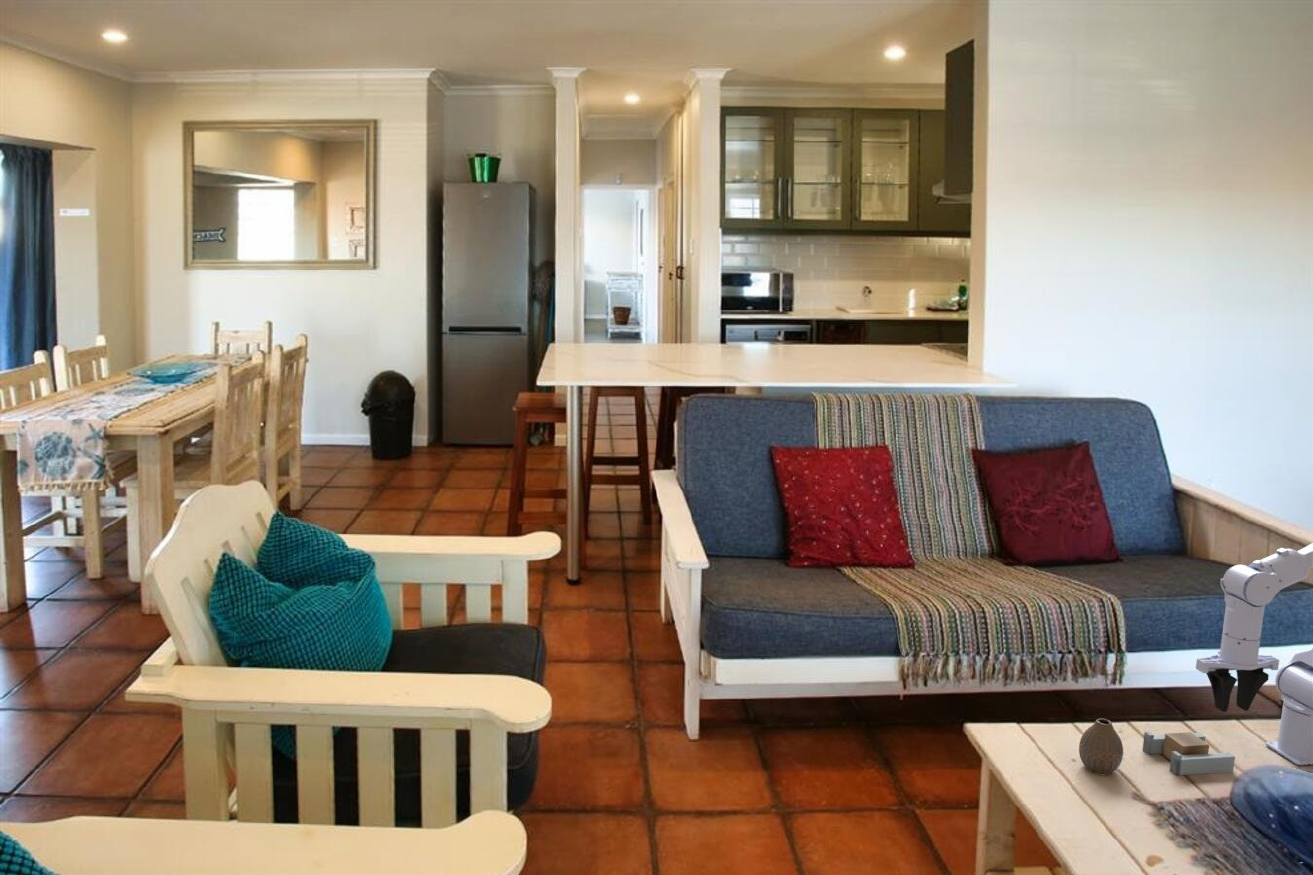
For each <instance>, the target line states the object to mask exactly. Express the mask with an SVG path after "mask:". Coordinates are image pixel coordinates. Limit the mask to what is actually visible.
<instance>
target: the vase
mask: <svg viewBox="0 0 1313 875" xmlns="http://www.w3.org/2000/svg"><path fill="white" fill-rule="evenodd" d="M1078 752H1079V758H1080V760H1081V763H1082V764H1083V765H1084V767H1086V769H1087V770H1088V771H1090V772H1091V773H1094V774H1096V773H1097V775H1100V776H1101V775H1102V776H1105V775H1106V776H1107V775H1110V774H1112V773H1114V772H1116V771H1117V770H1118V769H1119V767H1120V766H1121V764H1122V762H1123V758H1124V746H1123V742H1122V739H1121V737H1120V736H1119V734H1118V732H1117V731H1116V729H1115V728H1114V726H1113V724H1112V722H1111V721H1110V720H1109V719H1107V718H1097V719H1095V721H1094V723H1093V724H1092V725H1091V726H1089V727H1088V728H1087V729H1086V730H1084V732H1083V733H1082V735H1081V737H1080V740H1079V746H1078Z"/></svg>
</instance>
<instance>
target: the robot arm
mask: <svg viewBox="0 0 1313 875" xmlns="http://www.w3.org/2000/svg"><path fill="white" fill-rule="evenodd" d="M1311 569H1313V542H1312V543H1311V544H1308V545H1306V546H1304V547H1303V548H1301V549H1299V550H1295V549H1292V548H1284V547H1280V548H1278V549H1276V551H1275V553H1273V554H1271V555H1268V556H1266V557H1264V558H1262V559H1261V558H1260V559H1259V560H1258V559H1256V560H1254V561H1252V563H1250V564H1248V565H1245V564H1236V565H1233V566H1231V567H1229V569H1227V570H1226V571H1225V573H1224V574H1223V577H1222V578H1221V579H1220V582H1219V583H1220V588H1221V589H1222V592H1223V593H1224V600H1223V601H1224V602H1225V611H1224V617H1223V626H1222V627H1223V628H1222V633H1221V634H1222V635H1221V642H1220V648H1219V649H1220V650H1218V651H1217V654H1214V655H1210V656H1206V657H1200V658H1196V665H1195V669H1196V670H1197V671H1198V672H1200V673H1202V674H1206V676H1207V678H1208V681H1209V682H1210V683H1209V684H1210V685H1211V686H1210V687H1211V689H1212V694H1213V700H1214V707H1215V708H1216V709H1218V710H1219V711H1221V712H1223V713H1225V712H1228V709H1229V705H1230V699H1231V696H1232V695H1231V694H1232V691H1233V689H1234V687H1235V684H1236V683H1237V690H1236V691H1237V692H1236V706H1237V707H1238V708H1239V709H1242V710H1243V711H1246V712H1247V711H1249V710H1250V708H1251V705H1252V703H1253V701H1254V699H1255V697H1256V695H1257V693H1258V692H1259V691H1260V689H1261V688H1262V687H1263V686H1264V685H1265V684H1266V682H1268V681H1269V675H1270V674H1268V673H1267V672H1265V671H1264V670H1268V669H1270V670H1271V671H1278V670H1279V671H1278V672H1277V674H1276V676H1275V687H1276V689H1277V691H1278V692H1279V693H1280V694H1281V695H1280V700H1282V701H1283V703H1282V709H1281V716H1280V724H1279V731H1278V739H1277V740H1276V741H1266V742H1265V743H1264V744H1265V746H1266V747H1268V748H1270V749H1271V750H1273V751H1275V752H1276V753H1278V754H1279V755H1281V756H1283V757H1284V758H1286V759H1287V760H1289V761H1290V762H1292V763H1294V765H1298V766H1304V765H1305V766H1307V765H1308V764H1310V765H1313V648H1312V649H1310V650H1307V651H1302V652H1298V653H1295V654H1294V655H1293V657H1292V658H1291V659H1290V660H1289V662H1287V663H1286V664H1284V665H1283V666H1282V667H1281V668H1280V669H1279V666H1280V658H1277V657H1275V656H1273V655H1263V654H1262V655H1261V654H1259V653H1260V652H1259V651H1260V645H1261V636H1262V629H1263V621H1264V615H1265V607H1266V605H1268V604H1269V603H1271V602H1272V601H1273V599H1274V597H1275V596H1276V595H1277V594H1278V593H1280V591H1281V590H1283V589H1285V588H1287V587H1290V586H1292V585H1294V584H1296V583H1298V582H1299V583H1300V582H1301V581H1303V580H1305V579H1306V578H1308V577H1309V575H1310V574H1309V573H1310V570H1311ZM1230 671H1236V677H1235V676H1232V673H1231V672H1230Z"/></svg>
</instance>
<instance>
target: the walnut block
mask: <svg viewBox="0 0 1313 875" xmlns="http://www.w3.org/2000/svg"><path fill="white" fill-rule="evenodd" d="M1193 733H1194V732H1172V733H1171V732H1169V733H1168V732H1167V733H1165V734H1164V735H1165V740H1164V748H1163V753H1162V756H1164V758H1166V759H1168V760H1169V761H1171V756H1172V751H1177V752H1178V753H1179V754H1181V755H1194V754H1209V750H1210V744H1208V743H1207V742H1206V741H1205V742H1204V741H1203V740H1201V739H1200V738H1198V737H1197V736H1195V735H1194V734H1193Z"/></svg>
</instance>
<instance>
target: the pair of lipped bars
mask: <svg viewBox="0 0 1313 875" xmlns="http://www.w3.org/2000/svg"><path fill="white" fill-rule="evenodd" d="M1192 733H1193V734H1194V735H1195V736H1197V737H1198V738H1200V739H1201V740H1203V741H1204V742H1206V736H1205V735H1204V734H1202V733H1201V732H1192ZM1164 740H1165V734H1153V733H1152V732H1150V731H1149V730H1148V731H1144V734H1143V743H1142V752H1144V753H1145V754H1147V755H1158V754H1162V755H1163V748H1164ZM1235 760H1236V757H1235V755H1233V753H1230V752H1215V753H1213V752H1212V753H1208V754H1194V755H1181V754H1179V753H1178V752H1177V751H1172V756H1171V760H1170V764H1169V765H1170V766H1169V772H1171V774H1173V775H1175V776H1184V775H1185V776H1186V775H1187V776H1188V775H1202V774H1203V775H1204V774H1218V773H1219V774H1220V773H1233V772H1234V769H1235V768H1234V766H1235Z"/></svg>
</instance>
